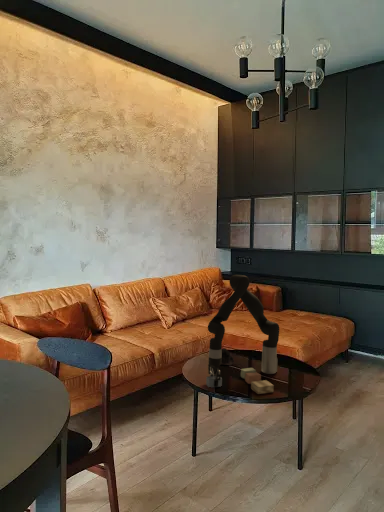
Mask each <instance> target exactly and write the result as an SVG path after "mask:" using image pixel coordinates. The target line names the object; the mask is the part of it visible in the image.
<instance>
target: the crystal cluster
mask: <svg viewBox="0 0 384 512" xmlns="http://www.w3.org/2000/svg"><path fill="white" fill-rule="evenodd" d="M221 350H222V358H221V365H224V366H232V365H234V362H235V359H234V356H232V354H231V352H230V351H229V350H228V349H227V348H221Z"/></svg>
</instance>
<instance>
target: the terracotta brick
mask: <svg viewBox="0 0 384 512" xmlns="http://www.w3.org/2000/svg"><path fill="white" fill-rule="evenodd" d="M254 381H262V374H260V373H259V372H257V371H256V373H246V378H245V379H244V382H246V383H247V384H248V385H251V382H254Z"/></svg>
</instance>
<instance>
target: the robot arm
mask: <svg viewBox="0 0 384 512" xmlns="http://www.w3.org/2000/svg"><path fill="white" fill-rule="evenodd" d="M228 282H229V286H230V288H231V289H232V290H233V291H234V292H232V294H231V295H230V296H229V297H228V298H227V299H226V300H224V302H223V303H222V304H221V306H220V307H219V309H218V312H217V313H216V314H215V315H214V316H213V318H212V319H210V321H209V323H208V325H207V331H208V332H209V334H213V335H214V337H211V338H210V340H209V346H208V347H209V349H208V365H207V368H208V369H207V370H208V371H207V374H208V375H209V376H214V386H215V387H214V388H218V387H217V386H218V380H220V379H221V378H222V370H220V367H219V366H221V365H222V364H221V358H222V350H221V349H222V346H223V343H222V342H223V339H224V337H225V333H226V327H225V325H224V324H223V322H227V321H228V320H229V317H230V316H231V314H232V312H233V310H234V308H235V307H236V305H237V303H238V302H239V301H240V300H241V301H242V303H243V304H244V305H245V307H246V309H247V310H248V311H249V313H250V315H251V316H252V317H253V319H254V320H255V322H256V323H257V325H258V327H259V330H260V332H262V334H264V335H265V336H268V337H267V339H264V340H263V341H262V349H261V352H262V353H261V372H262V373H264V374H267V375H273V374H274V375H275V374H276V372H277V373H278V357H277V352H278V351H277V350H278V344H279V339H280V338H279V337H280V324H278V323H277V322H276V321H275V322H274V321H272V320H269V319H267V317H266V316H265V314H264V313H265V311H264V305H263V303H262V302H261V300H260V299H259V298H258V297H257V296H256V295H255V294H253V293H252V292H251V291H250V290H248V288H249V287H250V283H251V282H250V279H249V277H248V276H246V275H242V274H233V275H231V276H230V277H229V280H228Z"/></svg>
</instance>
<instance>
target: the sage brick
mask: <svg viewBox="0 0 384 512" xmlns="http://www.w3.org/2000/svg"><path fill="white" fill-rule="evenodd" d="M256 372H257V371H256V368H255V369H254V368H253V367H246V368H245V367H244V368H240V378H242V379H244V380H245V378H246V373H256Z"/></svg>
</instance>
